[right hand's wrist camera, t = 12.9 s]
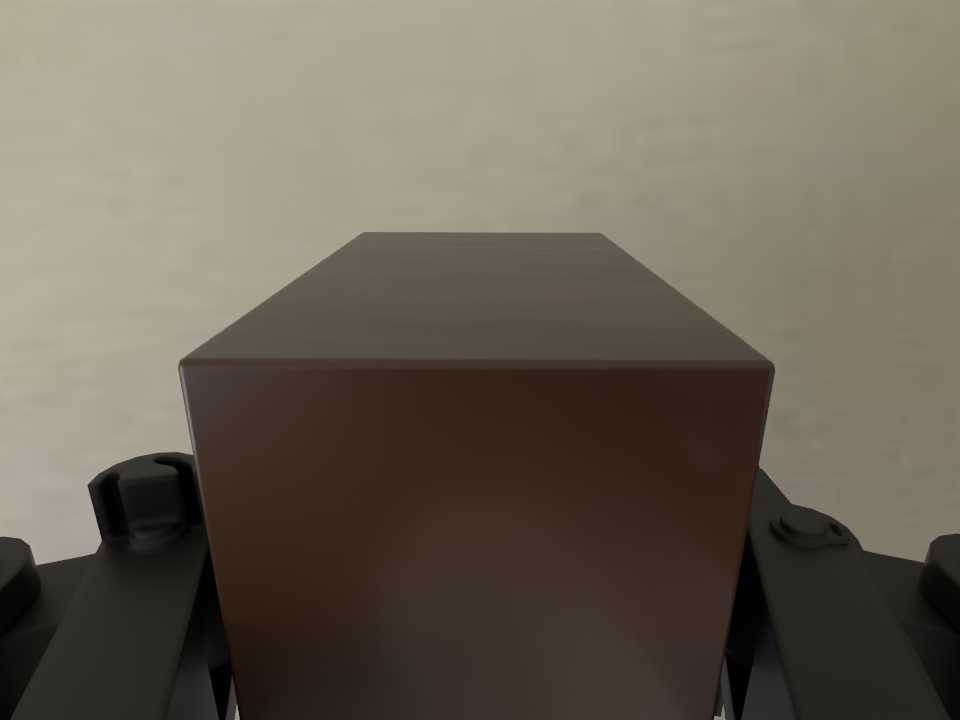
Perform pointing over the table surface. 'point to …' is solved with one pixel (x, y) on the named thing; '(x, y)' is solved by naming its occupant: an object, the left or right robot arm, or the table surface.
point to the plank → (476, 484)
